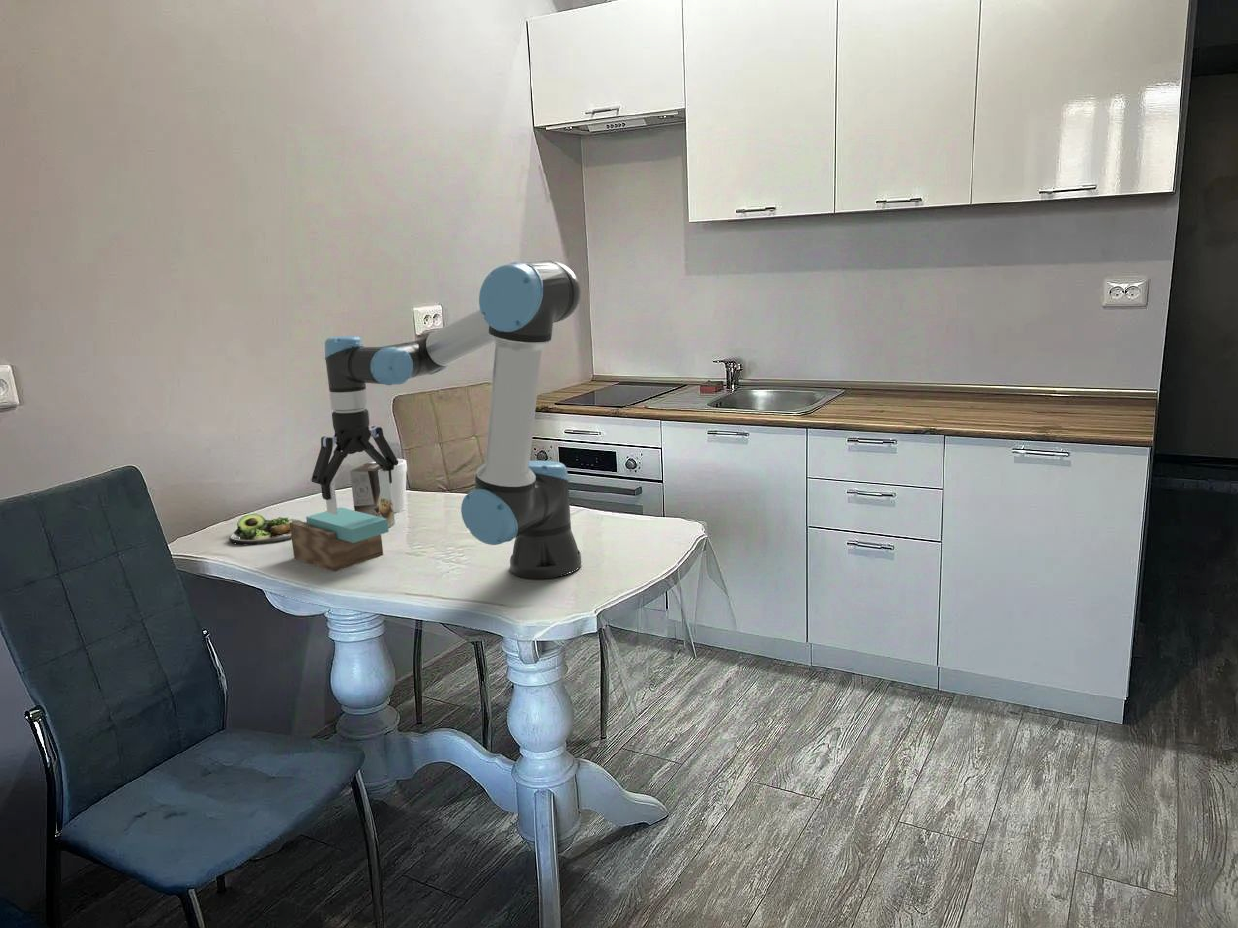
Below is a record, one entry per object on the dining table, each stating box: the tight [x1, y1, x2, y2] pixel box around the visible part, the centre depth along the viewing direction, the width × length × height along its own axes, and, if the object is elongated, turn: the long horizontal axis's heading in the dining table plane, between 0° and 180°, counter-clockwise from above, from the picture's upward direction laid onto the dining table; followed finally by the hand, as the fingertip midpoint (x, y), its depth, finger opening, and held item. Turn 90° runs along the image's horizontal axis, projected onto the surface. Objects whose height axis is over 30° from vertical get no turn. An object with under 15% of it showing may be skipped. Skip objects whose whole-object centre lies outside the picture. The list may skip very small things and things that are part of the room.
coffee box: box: [349, 462, 396, 529], centre depth 231 cm, size 9×6×16 cm
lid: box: [305, 506, 389, 543], centre depth 207 cm, size 18×9×3 cm, turn 49°
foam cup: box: [371, 458, 408, 514], centre depth 248 cm, size 10×9×13 cm
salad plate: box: [229, 513, 307, 545], centre depth 233 cm, size 19×18×5 cm
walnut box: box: [290, 521, 384, 572], centre depth 212 cm, size 16×13×8 cm
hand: (359, 506), depth 202 cm, fingers open, 13 cm apart
